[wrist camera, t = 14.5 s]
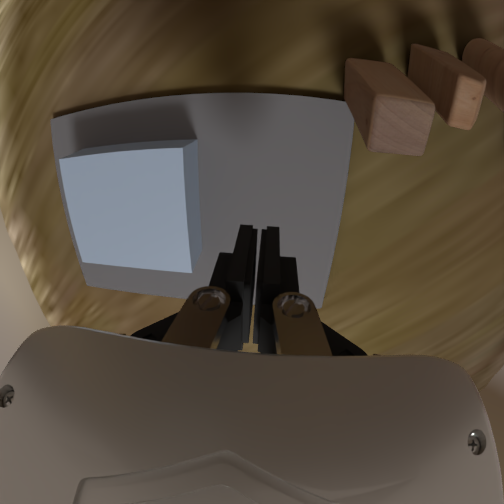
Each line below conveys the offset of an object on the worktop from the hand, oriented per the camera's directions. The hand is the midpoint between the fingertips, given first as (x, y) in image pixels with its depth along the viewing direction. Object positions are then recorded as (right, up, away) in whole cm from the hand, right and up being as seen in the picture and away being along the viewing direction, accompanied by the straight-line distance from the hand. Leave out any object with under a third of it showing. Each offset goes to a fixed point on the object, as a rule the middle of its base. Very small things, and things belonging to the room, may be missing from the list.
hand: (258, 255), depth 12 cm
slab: (-4, +3, +5) cm, 7 cm away
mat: (-5, +3, +7) cm, 9 cm away
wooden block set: (+14, +11, +1) cm, 18 cm away
